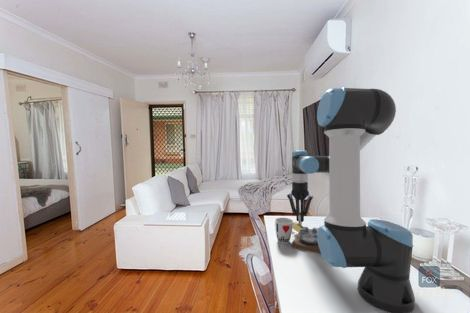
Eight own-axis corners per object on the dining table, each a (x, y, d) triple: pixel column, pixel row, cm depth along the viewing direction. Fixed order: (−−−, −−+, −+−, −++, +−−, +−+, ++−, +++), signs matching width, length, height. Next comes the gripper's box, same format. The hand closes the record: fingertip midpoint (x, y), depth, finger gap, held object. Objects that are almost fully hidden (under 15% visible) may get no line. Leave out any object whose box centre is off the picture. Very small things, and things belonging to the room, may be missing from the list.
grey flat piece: (329, 243, 107) (329, 234, 106) (308, 247, 103) (308, 237, 102) (302, 227, 125) (303, 219, 124) (284, 229, 121) (284, 221, 121)
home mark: (294, 232, 123) (294, 232, 123) (291, 233, 122) (291, 232, 122) (289, 229, 127) (289, 229, 126) (287, 230, 126) (287, 229, 126)
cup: (272, 242, 111) (272, 221, 110) (277, 236, 118) (278, 216, 117) (289, 246, 108) (290, 225, 107) (294, 239, 115) (294, 219, 114)
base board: (324, 255, 101) (325, 250, 100) (291, 247, 107) (291, 242, 107) (329, 241, 113) (329, 237, 113) (299, 235, 119) (299, 231, 119)
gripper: (314, 180, 120) (314, 226, 122) (289, 179, 126) (289, 223, 128) (311, 183, 113) (311, 232, 115) (285, 181, 119) (285, 228, 121)
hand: (300, 227), depth 122 cm, fingers closed
